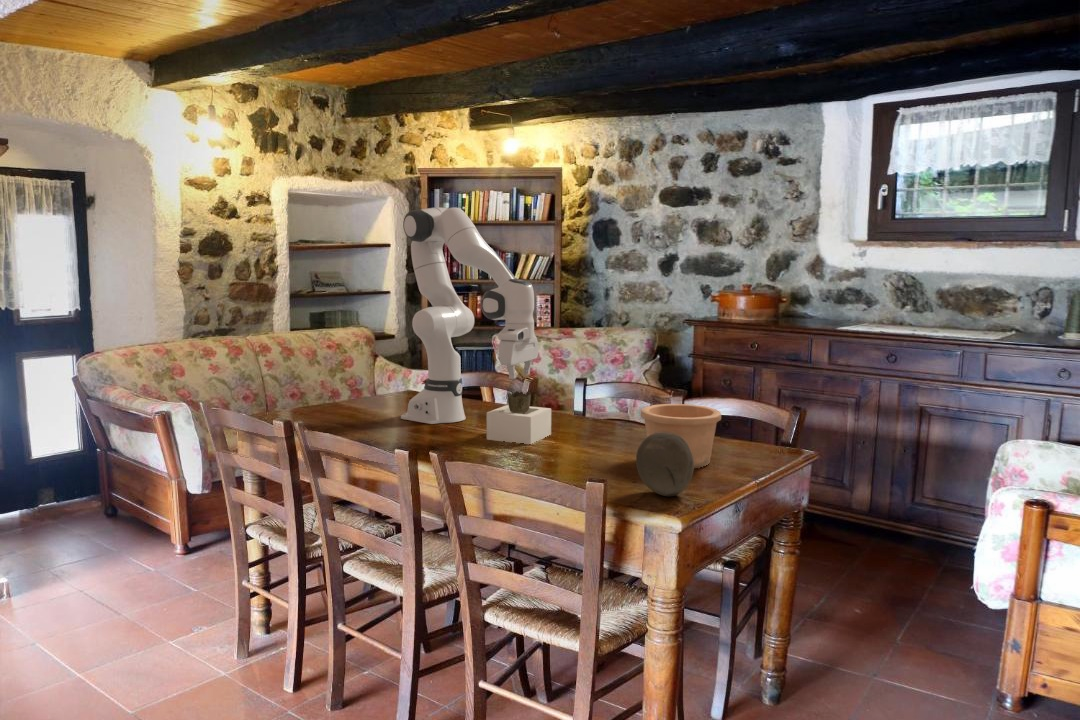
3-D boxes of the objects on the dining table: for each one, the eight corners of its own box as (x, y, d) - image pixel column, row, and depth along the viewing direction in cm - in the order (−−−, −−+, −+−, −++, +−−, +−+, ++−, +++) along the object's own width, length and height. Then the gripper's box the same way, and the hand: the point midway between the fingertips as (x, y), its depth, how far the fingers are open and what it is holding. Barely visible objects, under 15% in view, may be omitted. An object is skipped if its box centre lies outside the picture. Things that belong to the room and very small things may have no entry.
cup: (502, 419, 255) (502, 393, 254) (514, 415, 261) (514, 390, 260) (523, 421, 251) (523, 395, 250) (535, 417, 258) (535, 392, 257)
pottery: (665, 448, 244) (666, 400, 242) (733, 460, 230) (735, 410, 228) (624, 462, 227) (625, 411, 225) (695, 476, 213) (697, 422, 212)
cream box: (486, 439, 253) (486, 412, 252) (508, 430, 267) (508, 404, 266) (530, 444, 247) (530, 416, 246) (551, 434, 261) (551, 408, 260)
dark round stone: (702, 492, 200) (704, 431, 198) (678, 507, 188) (679, 442, 186) (650, 482, 208) (652, 424, 206) (623, 496, 196) (624, 434, 194)
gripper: (525, 328, 263) (525, 371, 265) (495, 334, 245) (495, 380, 247) (543, 329, 261) (542, 373, 263) (514, 335, 242) (514, 382, 244)
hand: (519, 376), depth 255 cm, fingers open, 8 cm apart
